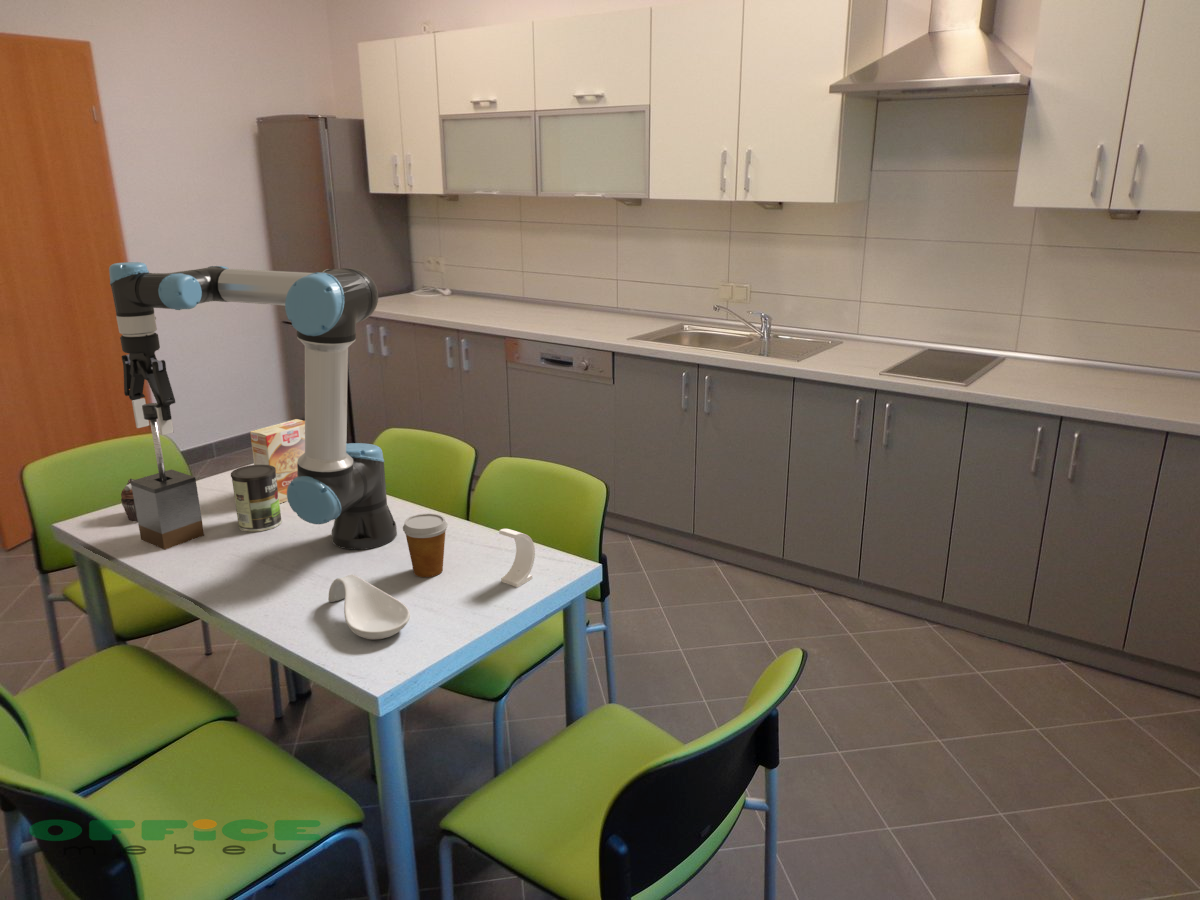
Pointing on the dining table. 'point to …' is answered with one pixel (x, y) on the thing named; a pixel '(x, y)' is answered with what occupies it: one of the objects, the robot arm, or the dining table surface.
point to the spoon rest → (369, 608)
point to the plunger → (155, 436)
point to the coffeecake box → (280, 451)
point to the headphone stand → (520, 559)
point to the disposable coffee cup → (426, 543)
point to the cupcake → (129, 502)
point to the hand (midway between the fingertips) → (154, 429)
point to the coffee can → (256, 497)
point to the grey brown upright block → (167, 509)
